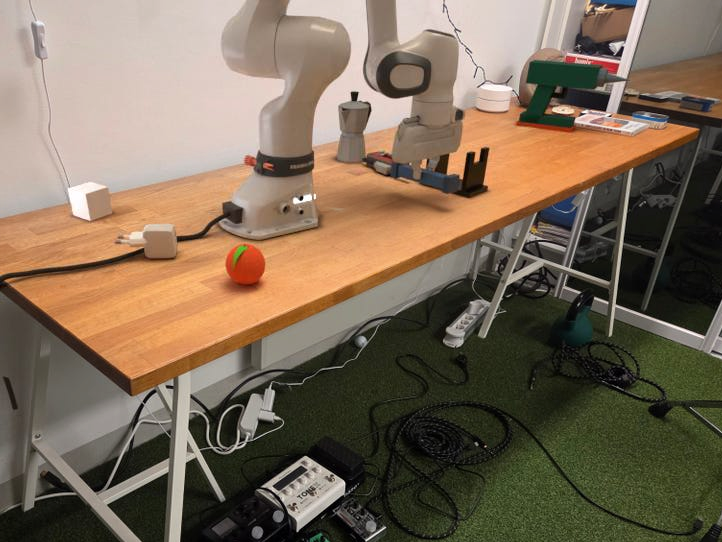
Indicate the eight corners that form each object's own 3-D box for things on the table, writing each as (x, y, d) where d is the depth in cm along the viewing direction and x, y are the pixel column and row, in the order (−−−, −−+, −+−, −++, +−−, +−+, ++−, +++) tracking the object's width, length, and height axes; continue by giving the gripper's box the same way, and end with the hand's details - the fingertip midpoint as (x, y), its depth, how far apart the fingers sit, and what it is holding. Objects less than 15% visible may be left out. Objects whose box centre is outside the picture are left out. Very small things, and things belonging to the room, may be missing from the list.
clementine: (253, 296, 103) (251, 258, 99) (216, 289, 105) (213, 251, 101) (272, 277, 109) (271, 240, 105) (237, 271, 111) (235, 234, 107)
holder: (469, 197, 147) (476, 154, 141) (419, 183, 156) (423, 142, 150) (487, 190, 151) (494, 148, 146) (437, 177, 160) (443, 137, 155)
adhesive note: (73, 215, 135) (67, 188, 131) (95, 207, 139) (90, 181, 136) (90, 221, 132) (85, 193, 129) (112, 213, 136) (108, 186, 133)
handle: (447, 194, 135) (449, 177, 133) (390, 177, 146) (391, 162, 144) (457, 191, 137) (459, 175, 135) (400, 174, 148) (401, 159, 146)
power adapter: (116, 261, 114) (111, 231, 111) (121, 251, 119) (116, 222, 115) (176, 260, 115) (172, 230, 112) (179, 250, 119) (175, 221, 116)
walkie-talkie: (355, 165, 169) (406, 183, 155) (356, 149, 166) (408, 166, 153) (379, 160, 173) (430, 178, 160) (380, 144, 171) (432, 160, 157)
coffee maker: (351, 166, 168) (355, 96, 158) (325, 161, 172) (327, 92, 162) (379, 155, 178) (384, 89, 168) (354, 150, 182) (358, 85, 172)
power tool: (617, 133, 203) (635, 67, 192) (613, 137, 198) (632, 70, 187) (521, 121, 217) (533, 59, 206) (516, 125, 212) (528, 61, 201)
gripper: (410, 121, 126) (403, 188, 133) (470, 111, 137) (461, 172, 144) (388, 116, 130) (382, 181, 137) (448, 106, 141) (440, 167, 148)
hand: (423, 177), depth 141 cm, fingers closed on handle, 2 cm apart
